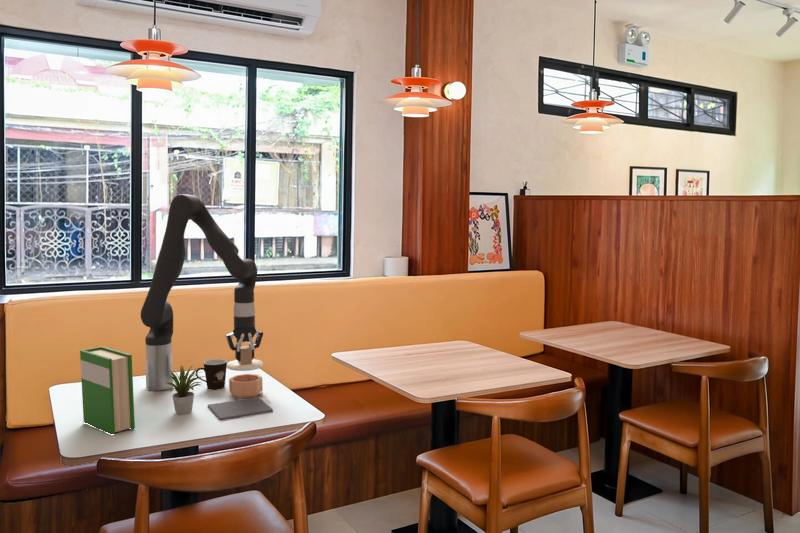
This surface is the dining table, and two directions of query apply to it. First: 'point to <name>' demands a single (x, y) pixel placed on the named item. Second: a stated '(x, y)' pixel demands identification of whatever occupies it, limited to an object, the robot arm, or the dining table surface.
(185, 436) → the dining table surface
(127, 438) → the dining table surface
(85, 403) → the hardback book
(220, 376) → the coffee mug
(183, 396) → the house plant
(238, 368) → the lid
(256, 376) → the bowl
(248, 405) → the mat
